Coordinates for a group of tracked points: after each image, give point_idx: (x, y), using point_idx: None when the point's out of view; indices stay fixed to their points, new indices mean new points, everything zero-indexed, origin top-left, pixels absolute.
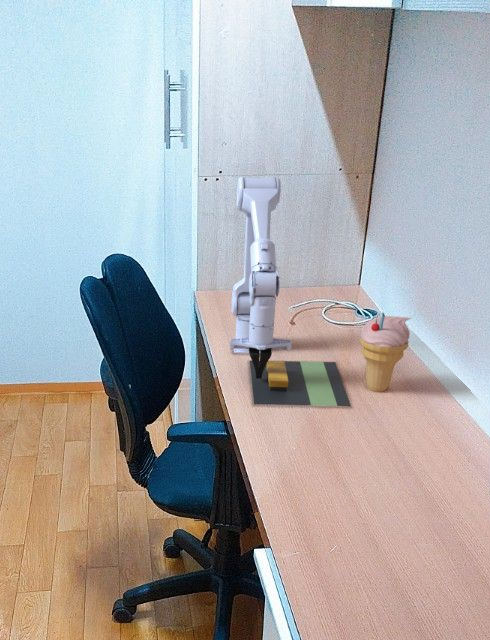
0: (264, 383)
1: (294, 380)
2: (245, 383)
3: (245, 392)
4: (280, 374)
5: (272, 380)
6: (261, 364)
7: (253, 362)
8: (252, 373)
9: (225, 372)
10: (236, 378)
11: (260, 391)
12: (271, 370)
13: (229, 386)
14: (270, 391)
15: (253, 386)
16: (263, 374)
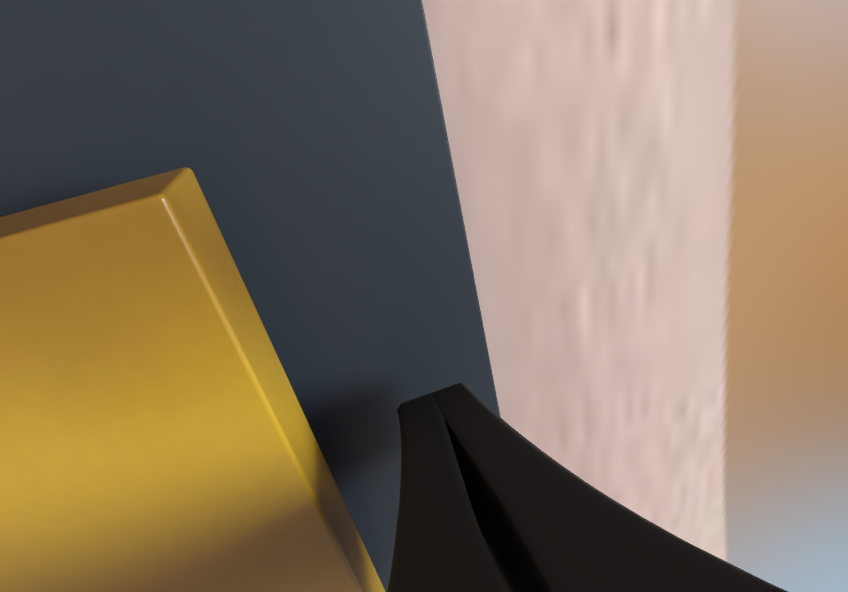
0: (344, 371)
1: None
2: (544, 315)
3: (526, 63)
4: (84, 529)
5: (105, 230)
6: (479, 576)
7: (674, 544)
8: None
9: (708, 444)
10: (629, 382)
11: (331, 118)
12: (293, 572)
13: (701, 184)
14: (183, 164)
15: (454, 247)
16: None
